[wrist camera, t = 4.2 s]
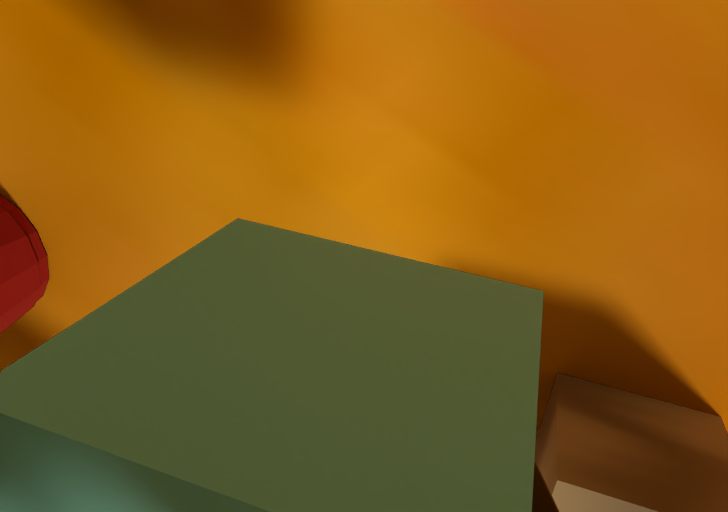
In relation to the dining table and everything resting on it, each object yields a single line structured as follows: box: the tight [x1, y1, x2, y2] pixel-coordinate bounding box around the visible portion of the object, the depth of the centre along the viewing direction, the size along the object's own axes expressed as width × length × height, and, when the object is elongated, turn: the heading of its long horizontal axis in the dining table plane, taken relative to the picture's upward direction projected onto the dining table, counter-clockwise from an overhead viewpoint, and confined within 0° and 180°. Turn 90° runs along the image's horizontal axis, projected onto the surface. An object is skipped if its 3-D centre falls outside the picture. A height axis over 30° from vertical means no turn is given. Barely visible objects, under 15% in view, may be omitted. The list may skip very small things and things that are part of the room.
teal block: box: [0, 218, 544, 512], centre depth 8 cm, size 5×5×5 cm
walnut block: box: [535, 373, 728, 512], centre depth 17 cm, size 5×5×5 cm
